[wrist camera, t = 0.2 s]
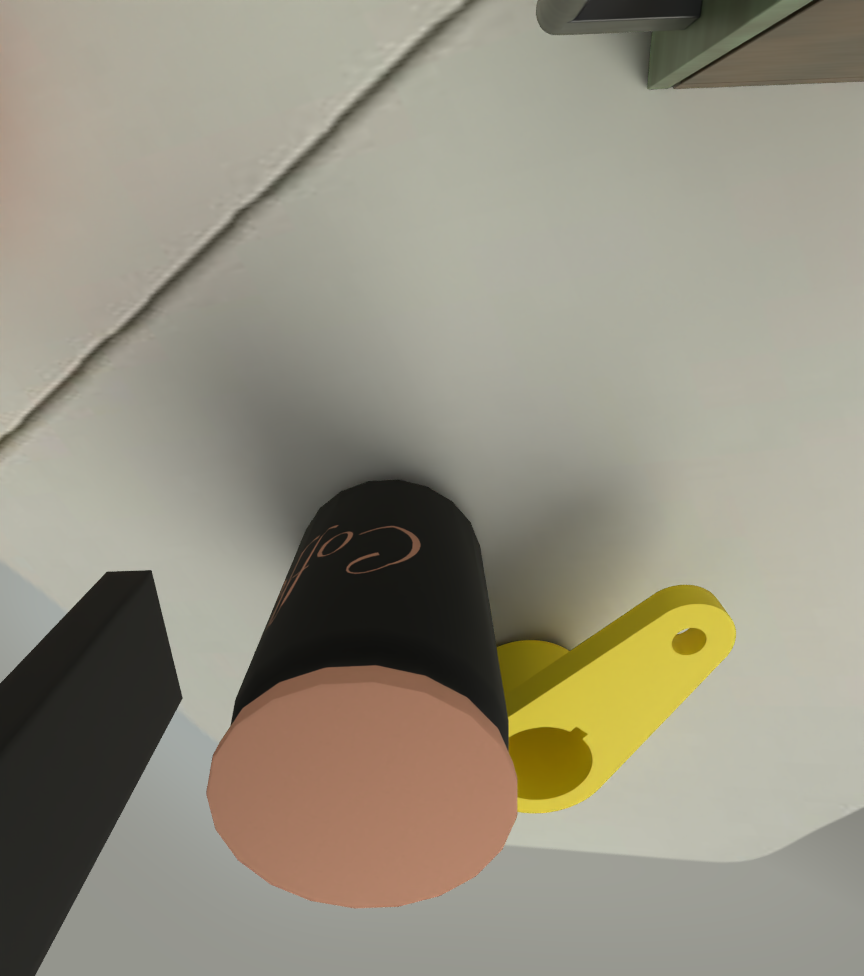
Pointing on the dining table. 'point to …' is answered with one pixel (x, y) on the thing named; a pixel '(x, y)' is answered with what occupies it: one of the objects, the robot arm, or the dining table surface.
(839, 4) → the cupboard
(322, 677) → the coffee jar
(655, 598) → the crank
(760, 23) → the door
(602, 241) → the dining table surface
